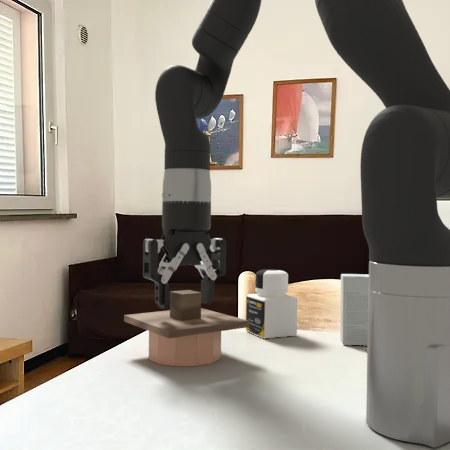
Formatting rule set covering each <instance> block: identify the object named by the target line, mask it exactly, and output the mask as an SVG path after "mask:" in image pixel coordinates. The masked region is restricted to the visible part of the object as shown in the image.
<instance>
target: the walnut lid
mask: <svg viewBox="0 0 450 450" xmlns="http://www.w3.org/2000/svg"><path fill="white" fill-rule="evenodd" d="M123 322H125V323H127V324H130V325H131V326H132V325H133V326H135V327H136V328H137V327H138V328H140V329H142V330H146V331H148V332H149V331H150V332H153V333H156V334H158V335H161V336H164V337H166V338H175V337H183V336H190V335H197V334H204V333H211V332H218V331H221V332H224V331H231V330H238V329H240V330H241V329H246V328H247V327H249V321H248V320H246V319H243V318H240V317H238V316H237V317H236V316H232V315H228V314H226V313H223V312H222V313H221V312H218V311H217V312H216V311H214V310H209V309H207V308H206V309H205V308H202V303H201V291H195V290H192V289H185V290H173V291H170V290H169V309H167V310H162V311H161V310H160V311H152V312H151V311H150V312H141V313H133V314H132V313H130V314H124V315H123Z"/></svg>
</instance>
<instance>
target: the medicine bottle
mask: <svg viewBox="0 0 450 450" xmlns="http://www.w3.org/2000/svg"><path fill="white" fill-rule="evenodd" d="M254 291H255V292H256V293H248V294H247V295H245V296H246V301H245V302H246V303H245V304H246V307H245V308H246V309H245V320H248V321H249V327H247V328H245V331H246V332H247V331H248V332H247V333H249V332H250V333H249V334H251V333H252V334H251V335H253V334H254V336H256V337H258V336H259V337H258V338H260V337H261V339H263V338H264V339H263V340H266V339H265V338H270V339H276V338H275V337H281V338H288V337H287V336H292V337H296V336H297V335H298V298H297V297H295V296H291V295H288V294H287V293H288V292H289V273H288V272H286V271H285V270H282V269H270V268H269V269H260V270H258V271H257V272H256V273H255V290H254Z"/></svg>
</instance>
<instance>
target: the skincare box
mask: <svg viewBox="0 0 450 450" xmlns="http://www.w3.org/2000/svg"><path fill="white" fill-rule="evenodd" d="M368 291H369V273H368V274H366V273H365V274H363V273H361V274H360V273H359V274H358V273H341V274H340V342H341V344H342V345H343V344H344V345H343V346H352V345H360V347H363V346H364V347H367V344H368ZM361 345H363V346H361Z"/></svg>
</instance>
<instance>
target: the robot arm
mask: <svg viewBox="0 0 450 450" xmlns="http://www.w3.org/2000/svg"><path fill="white" fill-rule="evenodd" d="M314 3H315V7H316V10H317V13H318V16H319V19H320V21H321V24H322V26H323V29H324V31H325V33H326V36H327V38H328V40H329V42H330V44H331V46H332V48H333V49H334V51H335V52H336V53H337V54H338V56H339V57H340V58H341V60H343V62H344V63H345V64H346V65H347V66H348V67H349V68H350V69H351V71H353V73H355V75H356V76H357V77H359V78H360V79H361V81H363V83H365V85H367V86H368V87H369V88H370V89H371V90H372V91H373V92H374V93H375V95H376V96H377V97H378V98H379V100H380V101H381V103H382V104H383V105H384V107H385V108H383V110H381V111H380V112H378V113H377V114H376V115H375V117H373V118H372V120H371V121H370V123H369V125H368V126H367V129H366V131H365V134H364V137H363V140H362V147H361V150H360V151H361V152H360V164H359V165H360V192H361V193H360V195H361V197H360V198H361V221H362V230H363V234H364V237H365V240H366V242H367V245H368V251H369V254H368V259H369V262H368V274H369V291H368V344H367V346H366V347H367V349H366V350H367V351H366V352H367V353H366V354H367V355H366V357H367V358H366V412H365V413H366V415H365V419H366V420H365V421H366V424H367V425H368V427H369V428H370V429H372V430H373V431H375V432H376V433H378V434H380V435H382V436H385V437H387V438H391V439H394V440H398V441H403V442H408V443H415V444H421V445H426V446H428V447H430V448H438V447H440V446H443V445H445V444H447V443H450V229H449V227H447V226H446V224H445V223H444V222H443V221H442V219H441V217H440V215H439V210H438V209H439V208H438V199H441V198H449V197H450V88H449V86H448V85H447V84H446V82H445V80H444V79H443V77H442V76H441V74H440V72H439V71H438V70H437V67H436V66H435V64H434V62H433V60H432V58H431V56H430V55H429V52H428V50H427V48H426V46H425V43H424V42H423V40H422V37H421V35H420V33H419V32H418V30H417V28H416V25H415V24H414V22H413V20H412V18H411V16H410V15H409V12H408V9H407V8H406V6H405V3H404V1H403V0H314ZM261 4H262V0H211V1H210V3H209V5H208V7H207V9H206V11H205V13H204V14H203V17H202V18H201V20H200V22H199V24H198V26H197V28H196V30H194V31H195V32H194V33H193V36H192V39H191V45H192V47H193V50H195V52H196V53H197V54H198V55H199V56H198V60H197V63H196V68H195V69H192V68H190V67H187V66H184V65H179V64H174V65H173V64H172V65H169V66H167V67H166V68H165V69H164V70H163V71H162V72H161V74H160V75H159V77H158V79H157V83H156V86H155V92H154V93H155V95H154V97H155V99H154V100H155V106H156V111H157V115H158V119H159V120H158V121H159V125H160V129H161V133H162V137H163V140H164V169H163V170H164V171H163V180H162V193H161V197H162V201H161V202H162V205H161V208H162V210H161V211H162V212H161V213H162V214H161V228H162V236H161V238H160V239H154V238H153V239H152V238H145V239H143V241H142V277H143V278H144V279H146V280H149V281H152V282H153V283H154V302H155V304H156V305H157V307H158V308H160V309H163V310H165V309H169V308H170V284H169V283H168V281H169V280H170V278H171V277H172V275H173V273H174V272H176V271H177V269H178V267H185V266H189V265H191V266H194V267H195V268H196V269H197V270H198V272H199V274H200V277H202V279H200V292H201V304H204V305H212V303H213V301H214V299H215V283H216V282H215V281H216V279H217V278H219V277H221V276H222V277H223V276H225V275H226V272H227V239H225V238H222V237H214V238H211V237H210V234H209V233H210V230H211V225H212V221H211V220H212V180H211V143H210V138H209V136H208V135H207V134H205V132H203V131H202V130H201V129H200V128H199V126H198V123H197V120H199V119H200V120H202V119H204V118H207V117H209V116H210V115H211V114H213V113H214V111H215V110H216V109H217V108H218V107H219V106H220V105H219V104H220V103H221V102H222V99H223V97H224V95H225V91H226V87H227V85H228V82H229V79H230V76H231V73H232V67H233V64H234V61H235V58H236V57H237V55H238V53H240V51H241V49H242V47H243V45H244V44H245V42H246V40H247V39H248V37H249V34H250V32H251V31H252V29H253V27H254V26H255V24H256V21H257V19H258V16H259V12H260V9H261ZM161 249H162V251H163V252H164V255H163V257H162V258H161V261H160V262H159V255H158V254H159V253H160V252H161ZM209 250H210V252H211V256H210V257H211V258H209V255H208V254H207V252H208V251H209Z"/></svg>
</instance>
